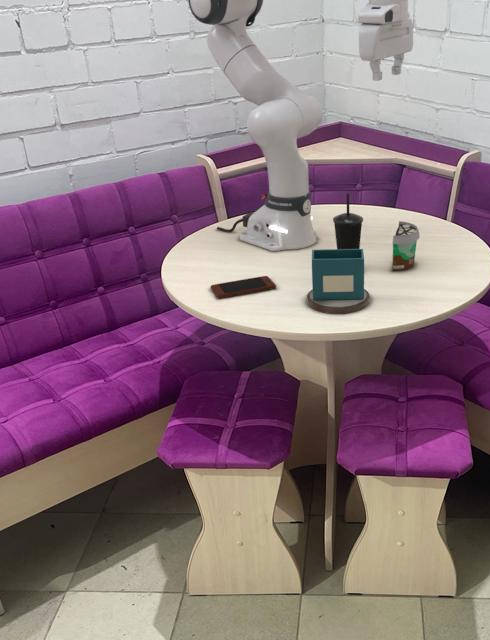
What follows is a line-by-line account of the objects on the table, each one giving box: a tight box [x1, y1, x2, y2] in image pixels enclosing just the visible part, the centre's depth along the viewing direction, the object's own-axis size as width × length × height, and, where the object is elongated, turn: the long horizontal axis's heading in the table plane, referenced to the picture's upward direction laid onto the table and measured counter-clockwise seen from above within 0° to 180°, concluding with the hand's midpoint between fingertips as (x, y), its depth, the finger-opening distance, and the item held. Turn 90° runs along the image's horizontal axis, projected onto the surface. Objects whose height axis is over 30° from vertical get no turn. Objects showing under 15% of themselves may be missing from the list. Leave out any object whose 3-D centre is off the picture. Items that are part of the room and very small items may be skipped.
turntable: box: [306, 288, 371, 315], centre depth 179 cm, size 15×15×2 cm
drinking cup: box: [332, 193, 364, 249], centre depth 191 cm, size 8×8×20 cm
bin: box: [311, 248, 365, 300], centre depth 176 cm, size 7×12×10 cm, turn 91°
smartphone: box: [210, 275, 277, 299], centre depth 185 cm, size 7×1×15 cm
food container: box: [392, 220, 421, 272], centre depth 195 cm, size 12×6×10 cm, turn 168°
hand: (386, 77), depth 175 cm, fingers open, 8 cm apart
